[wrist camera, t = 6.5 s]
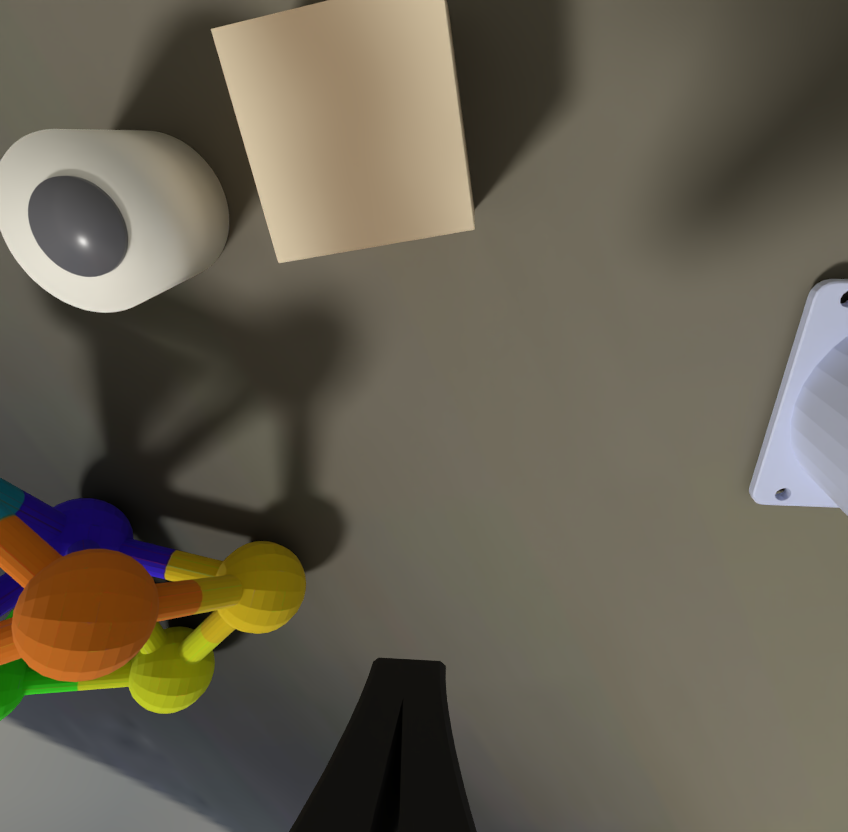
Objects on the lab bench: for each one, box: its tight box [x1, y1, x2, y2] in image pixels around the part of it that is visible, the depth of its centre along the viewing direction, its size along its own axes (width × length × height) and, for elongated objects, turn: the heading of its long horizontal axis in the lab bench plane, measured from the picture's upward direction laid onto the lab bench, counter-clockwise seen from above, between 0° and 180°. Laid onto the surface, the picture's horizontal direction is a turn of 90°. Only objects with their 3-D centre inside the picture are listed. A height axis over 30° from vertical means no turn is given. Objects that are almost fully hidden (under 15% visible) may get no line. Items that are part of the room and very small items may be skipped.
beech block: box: [211, 0, 475, 263], centre depth 14 cm, size 5×5×4 cm
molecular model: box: [0, 478, 306, 721], centre depth 20 cm, size 15×10×15 cm
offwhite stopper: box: [0, 129, 229, 313], centre depth 16 cm, size 4×4×4 cm
